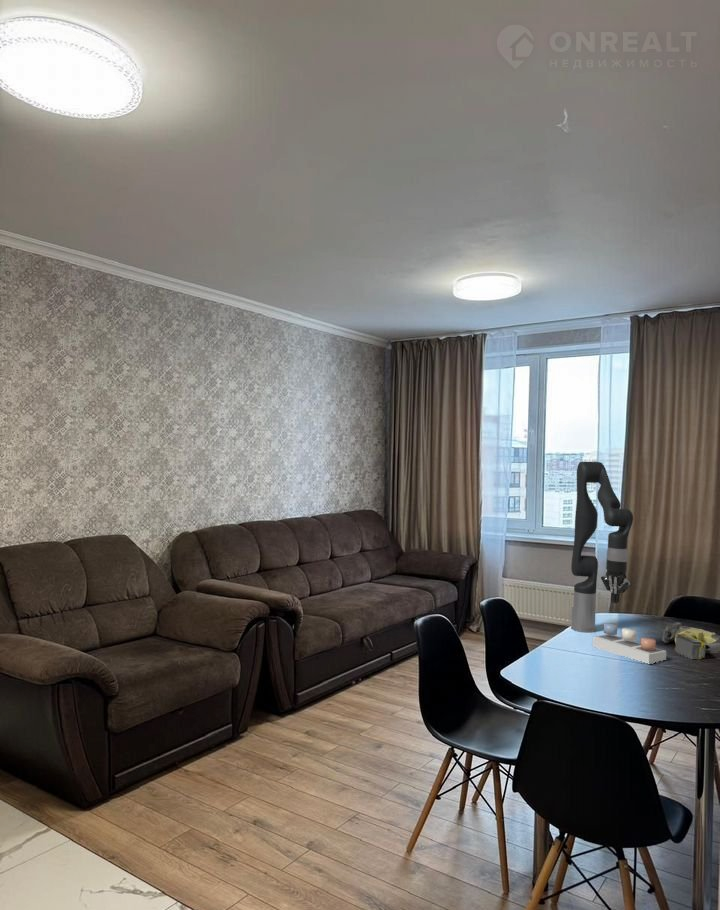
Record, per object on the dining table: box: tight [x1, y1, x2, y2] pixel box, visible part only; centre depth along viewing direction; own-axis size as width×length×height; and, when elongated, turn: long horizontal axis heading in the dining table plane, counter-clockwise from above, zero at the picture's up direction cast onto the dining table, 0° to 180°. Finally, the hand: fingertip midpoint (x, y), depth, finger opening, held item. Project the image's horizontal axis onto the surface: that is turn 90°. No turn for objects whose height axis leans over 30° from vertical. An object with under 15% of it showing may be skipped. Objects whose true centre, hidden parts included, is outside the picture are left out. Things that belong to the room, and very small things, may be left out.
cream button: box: [621, 627, 637, 642], centre depth 248 cm, size 5×5×4 cm
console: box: [592, 634, 667, 664], centre depth 248 cm, size 25×10×4 cm, turn 30°
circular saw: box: [661, 621, 720, 660], centre depth 256 cm, size 10×30×25 cm
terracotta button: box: [640, 637, 657, 651], centre depth 241 cm, size 5×5×4 cm
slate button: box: [603, 622, 618, 636], centre depth 256 cm, size 5×5×4 cm
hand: (614, 602), depth 255 cm, fingers closed
